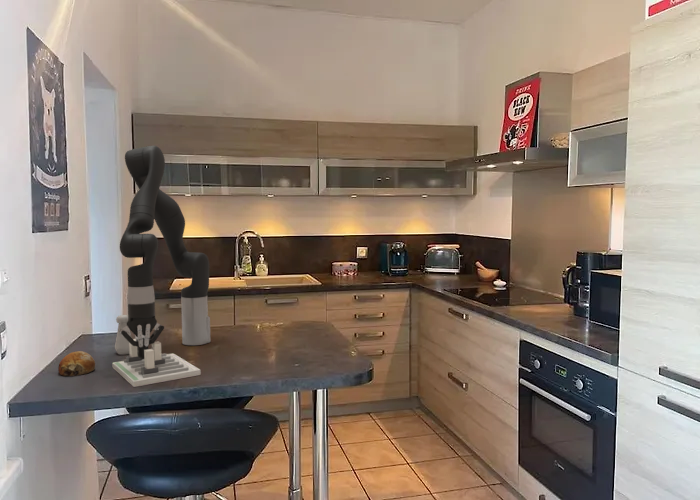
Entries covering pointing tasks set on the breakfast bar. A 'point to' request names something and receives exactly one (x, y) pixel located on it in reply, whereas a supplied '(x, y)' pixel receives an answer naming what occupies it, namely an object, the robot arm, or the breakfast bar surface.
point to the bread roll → (76, 364)
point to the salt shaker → (121, 342)
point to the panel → (166, 372)
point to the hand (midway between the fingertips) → (143, 358)
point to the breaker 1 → (132, 354)
